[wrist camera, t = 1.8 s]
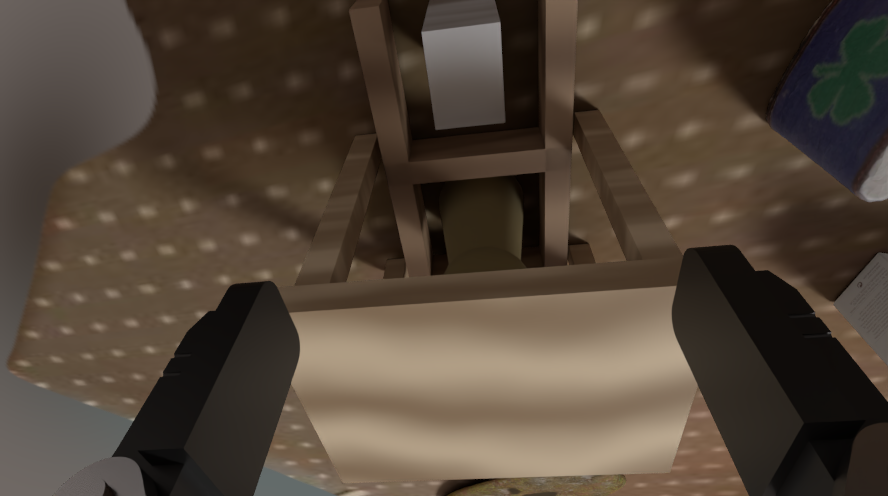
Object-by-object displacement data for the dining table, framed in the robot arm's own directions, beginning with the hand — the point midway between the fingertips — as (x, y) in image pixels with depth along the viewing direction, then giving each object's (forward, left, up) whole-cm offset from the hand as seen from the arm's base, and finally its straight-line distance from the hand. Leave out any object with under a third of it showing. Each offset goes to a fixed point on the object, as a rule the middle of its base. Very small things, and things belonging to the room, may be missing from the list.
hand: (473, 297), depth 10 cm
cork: (+12, 0, -22) cm, 25 cm away
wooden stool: (+16, 0, -22) cm, 27 cm away
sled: (+8, 0, -21) cm, 23 cm away
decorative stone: (+53, +4, -23) cm, 58 cm away
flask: (+4, +20, -22) cm, 30 cm away
